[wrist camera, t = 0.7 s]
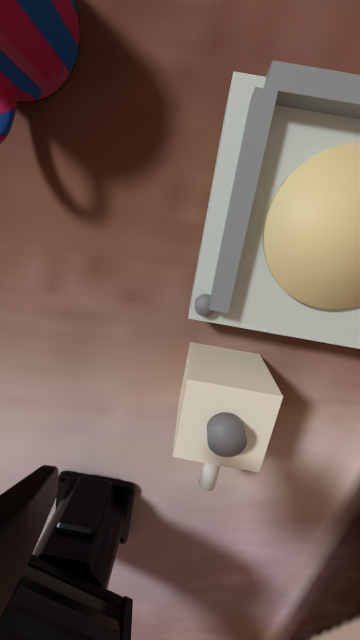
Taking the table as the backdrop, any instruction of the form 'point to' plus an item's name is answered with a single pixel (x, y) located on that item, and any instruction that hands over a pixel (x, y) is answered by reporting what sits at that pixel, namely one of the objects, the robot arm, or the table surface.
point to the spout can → (225, 411)
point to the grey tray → (285, 208)
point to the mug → (34, 51)
